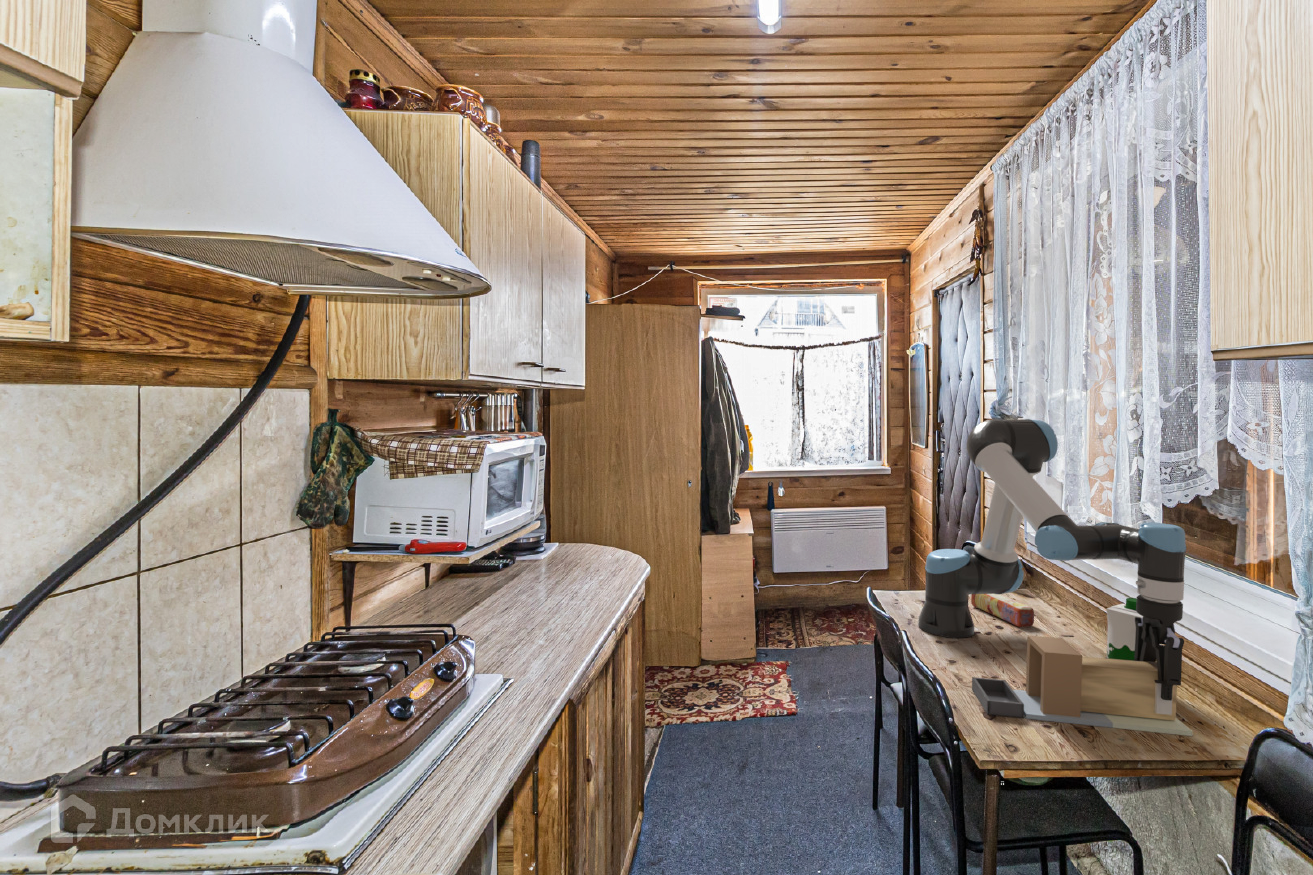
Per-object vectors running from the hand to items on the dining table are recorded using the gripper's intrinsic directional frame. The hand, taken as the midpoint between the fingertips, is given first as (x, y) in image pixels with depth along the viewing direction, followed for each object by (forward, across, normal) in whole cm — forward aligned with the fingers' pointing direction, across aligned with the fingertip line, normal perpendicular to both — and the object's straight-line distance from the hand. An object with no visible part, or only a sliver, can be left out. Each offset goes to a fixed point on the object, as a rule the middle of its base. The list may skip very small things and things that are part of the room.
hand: (1155, 706), depth 129 cm
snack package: (+3, -65, -11) cm, 66 cm away
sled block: (+1, 0, -6) cm, 7 cm away
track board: (+3, 0, -11) cm, 12 cm away
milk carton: (+3, -18, +4) cm, 19 cm away
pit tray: (+3, 0, -30) cm, 31 cm away
